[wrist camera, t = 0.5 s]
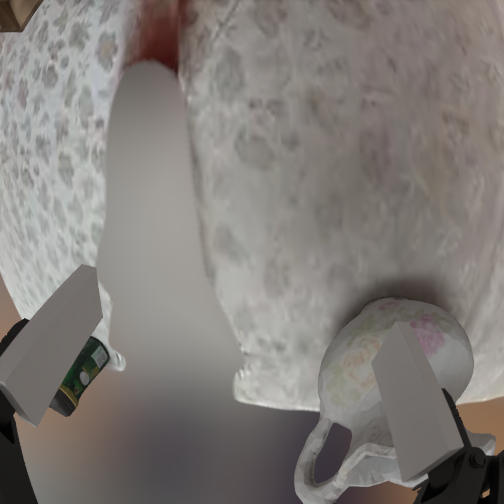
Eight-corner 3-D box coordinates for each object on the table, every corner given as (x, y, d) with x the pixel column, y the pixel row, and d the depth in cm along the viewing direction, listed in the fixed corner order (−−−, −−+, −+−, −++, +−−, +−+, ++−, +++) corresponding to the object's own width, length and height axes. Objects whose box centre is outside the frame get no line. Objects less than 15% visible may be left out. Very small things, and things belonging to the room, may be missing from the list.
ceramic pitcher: (351, 385, 44) (354, 520, 23) (275, 329, 39) (247, 508, 18) (461, 322, 34) (511, 465, 13) (409, 235, 29) (503, 442, 8)
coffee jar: (84, 352, 57) (42, 406, 41) (72, 328, 53) (24, 383, 37) (114, 364, 55) (73, 425, 39) (103, 339, 52) (54, 403, 36)
